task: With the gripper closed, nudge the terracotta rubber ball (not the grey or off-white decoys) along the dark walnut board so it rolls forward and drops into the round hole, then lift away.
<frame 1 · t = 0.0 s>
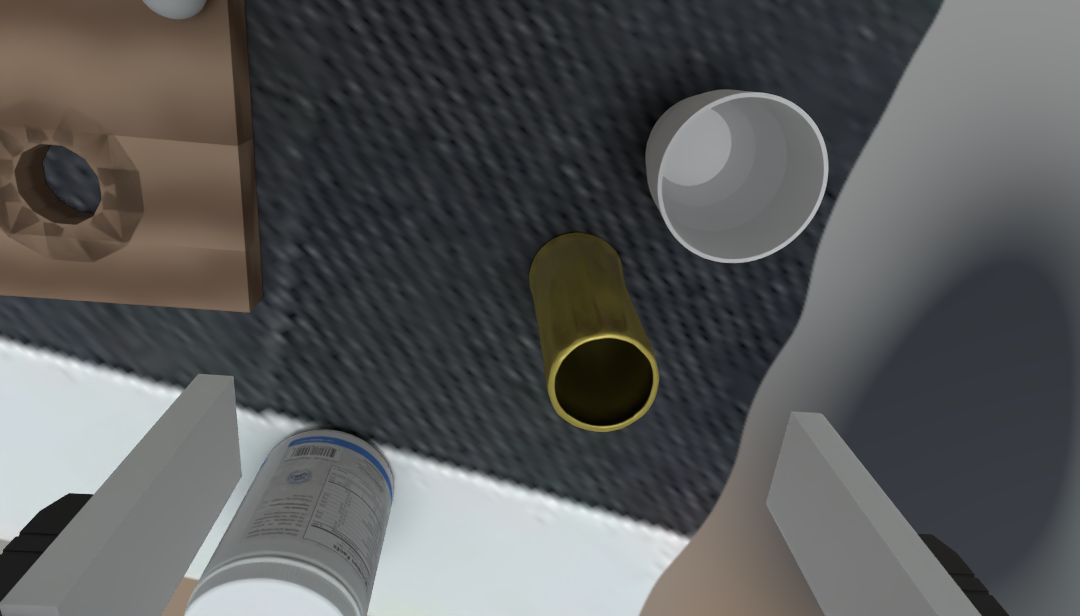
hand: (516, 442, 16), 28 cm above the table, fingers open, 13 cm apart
board: (69, 88, 39), on the table
supplement tub: (331, 477, 50), on the table
cup: (690, 144, 42), on the table
vase: (575, 275, 45), on the table
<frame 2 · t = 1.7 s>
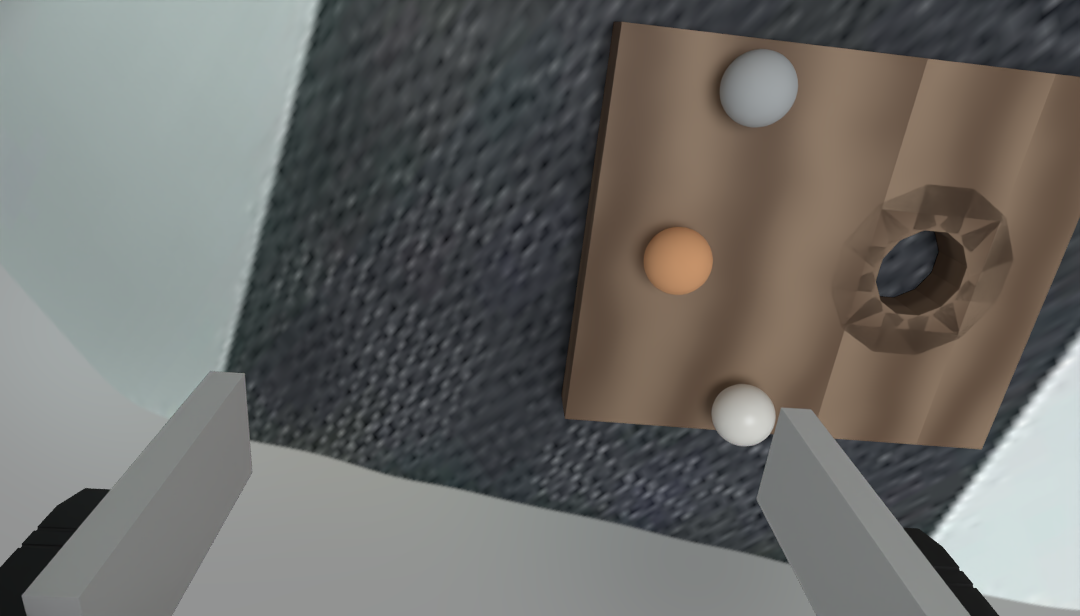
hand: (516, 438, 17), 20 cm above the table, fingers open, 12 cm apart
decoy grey: (758, 88, 29), point 4 cm above the table, touching board
ball: (677, 260, 32), point 4 cm above the table, touching board
board: (806, 249, 37), on the table
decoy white: (743, 414, 36), point 4 cm above the table, touching board
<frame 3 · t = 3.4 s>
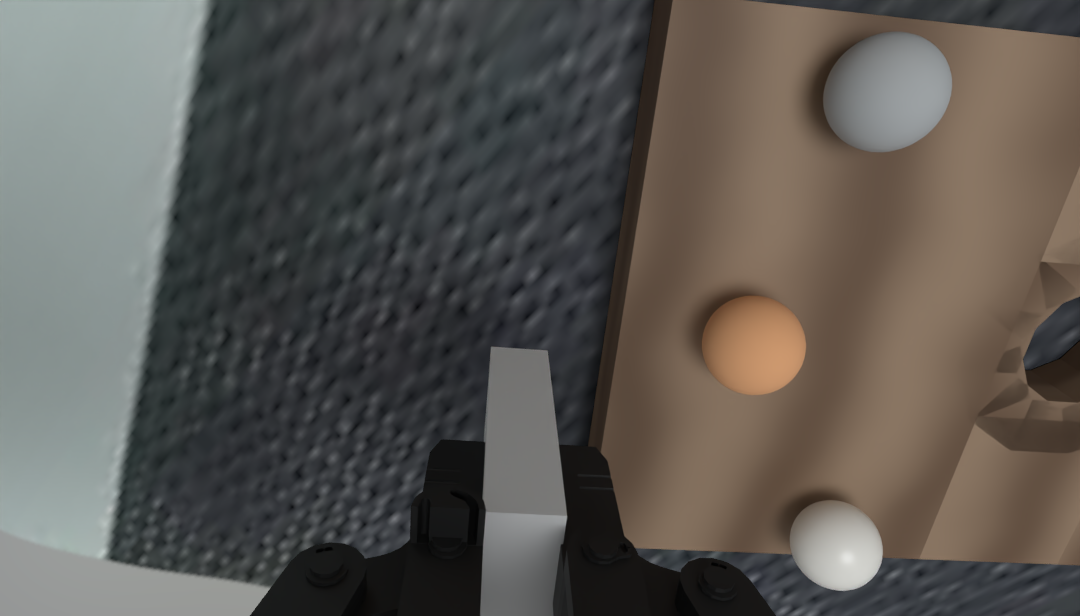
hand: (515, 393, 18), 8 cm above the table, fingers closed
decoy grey: (885, 93, 19), point 4 cm above the table, touching board
ball: (752, 345, 22), point 4 cm above the table, touching board
board: (917, 310, 27), on the table
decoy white: (835, 544, 26), point 4 cm above the table, touching board
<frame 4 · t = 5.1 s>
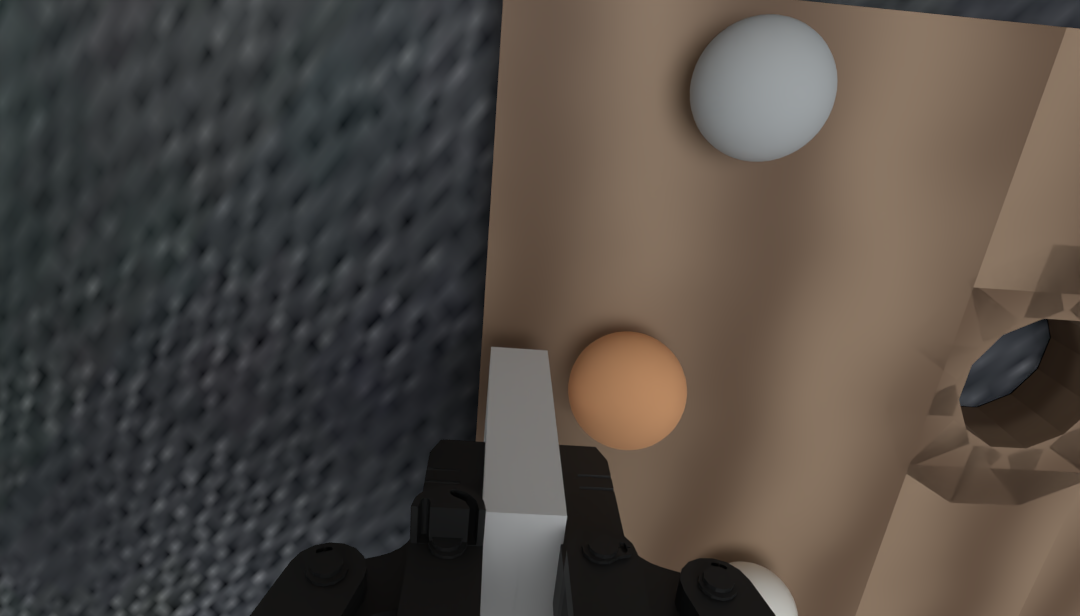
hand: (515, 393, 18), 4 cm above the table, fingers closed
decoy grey: (761, 90, 16), point 4 cm above the table, touching board
ball: (626, 390, 19), point 4 cm above the table, touching board
board: (841, 341, 23), on the table
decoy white: (745, 614, 22), point 4 cm above the table, touching board
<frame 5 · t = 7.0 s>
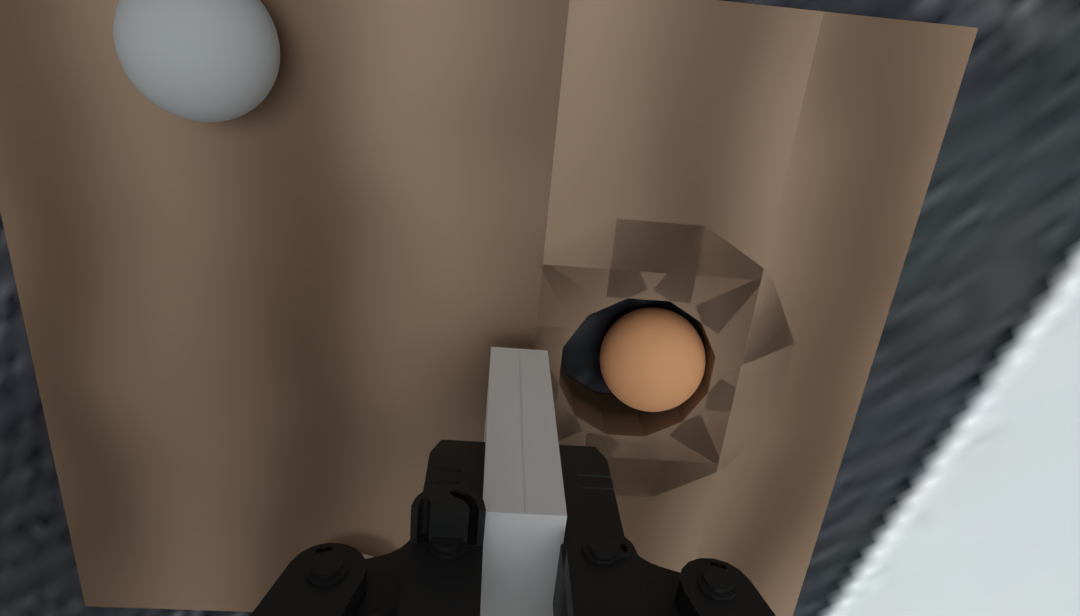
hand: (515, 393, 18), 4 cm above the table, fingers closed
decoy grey: (200, 45, 15), point 4 cm above the table, touching board
ball: (651, 359, 21), point 2 cm above the table, tilted 162°
board: (470, 324, 22), on the table
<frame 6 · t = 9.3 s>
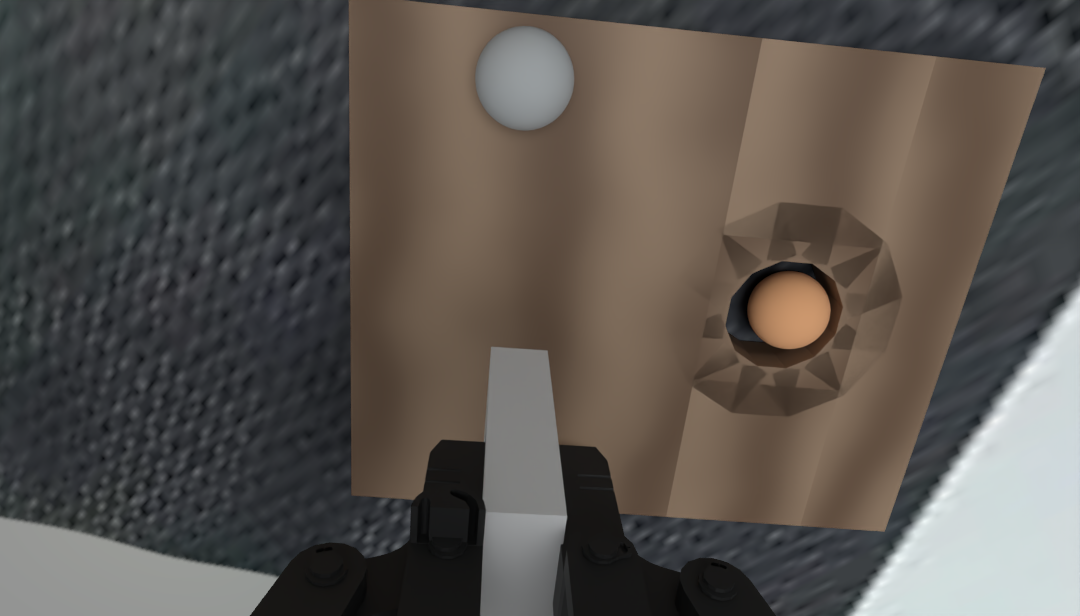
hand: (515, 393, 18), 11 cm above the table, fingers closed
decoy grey: (524, 79, 22), point 4 cm above the table, touching board
ball: (788, 309, 28), point 2 cm above the table, tilted 162°
board: (648, 284, 29), on the table
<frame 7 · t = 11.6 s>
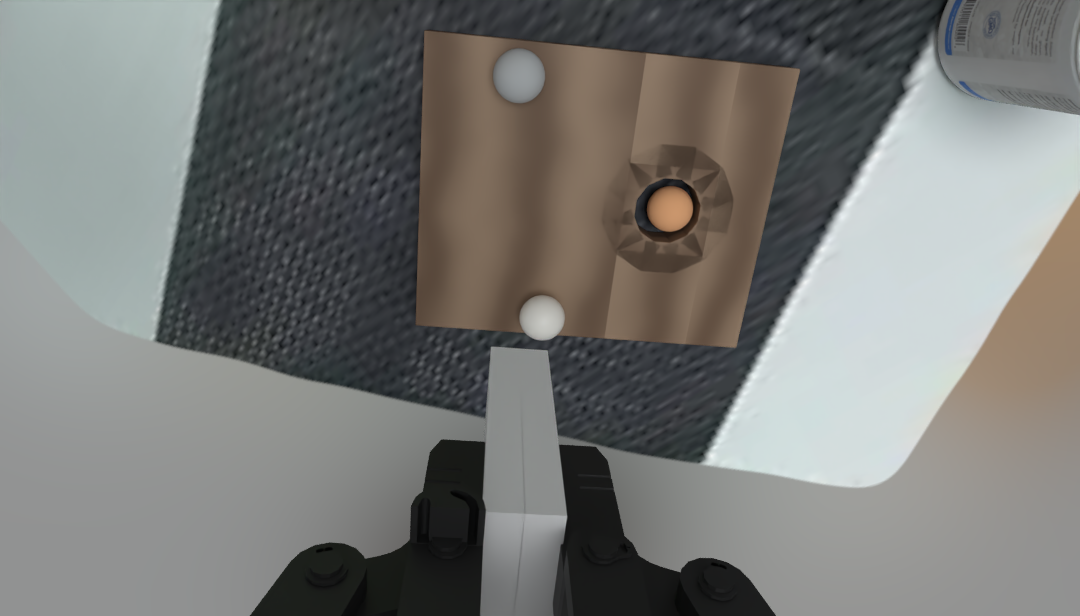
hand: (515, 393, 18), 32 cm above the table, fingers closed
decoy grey: (519, 76, 42), point 4 cm above the table, touching board
ball: (669, 208, 49), point 2 cm above the table, tilted 161°
board: (591, 196, 50), on the table
supplement tub: (999, 24, 46), on the table
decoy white: (542, 317, 49), point 4 cm above the table, touching board
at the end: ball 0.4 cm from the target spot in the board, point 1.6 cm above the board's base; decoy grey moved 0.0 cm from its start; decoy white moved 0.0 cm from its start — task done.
